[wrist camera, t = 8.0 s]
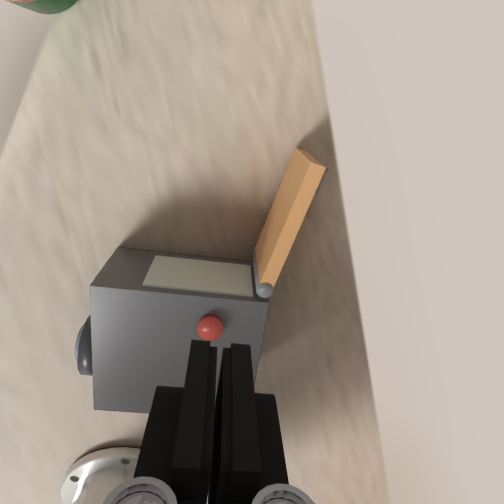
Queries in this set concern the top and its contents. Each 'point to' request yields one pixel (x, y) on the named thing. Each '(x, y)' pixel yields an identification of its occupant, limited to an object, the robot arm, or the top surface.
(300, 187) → the side door
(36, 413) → the top surface
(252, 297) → the camera body
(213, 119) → the top surface
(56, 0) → the soda can
